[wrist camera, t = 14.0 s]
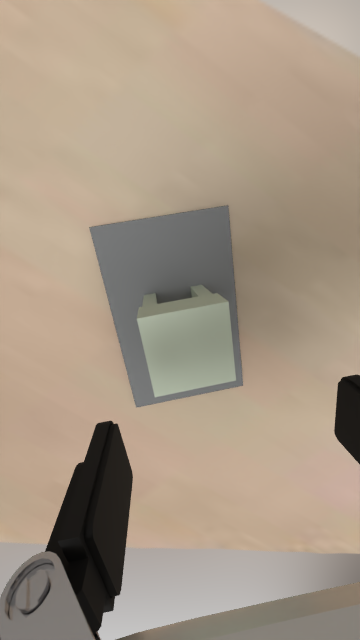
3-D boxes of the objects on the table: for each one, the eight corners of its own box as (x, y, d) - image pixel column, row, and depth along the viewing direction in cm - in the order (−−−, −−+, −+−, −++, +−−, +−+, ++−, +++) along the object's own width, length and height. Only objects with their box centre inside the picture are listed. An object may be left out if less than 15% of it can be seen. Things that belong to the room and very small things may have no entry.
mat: (226, 206, 23) (228, 205, 22) (241, 382, 29) (243, 385, 29) (90, 227, 22) (89, 227, 22) (136, 404, 29) (136, 407, 28)
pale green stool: (203, 282, 24) (228, 301, 17) (210, 339, 27) (236, 380, 19) (141, 293, 24) (136, 318, 16) (153, 350, 26) (154, 397, 18)
